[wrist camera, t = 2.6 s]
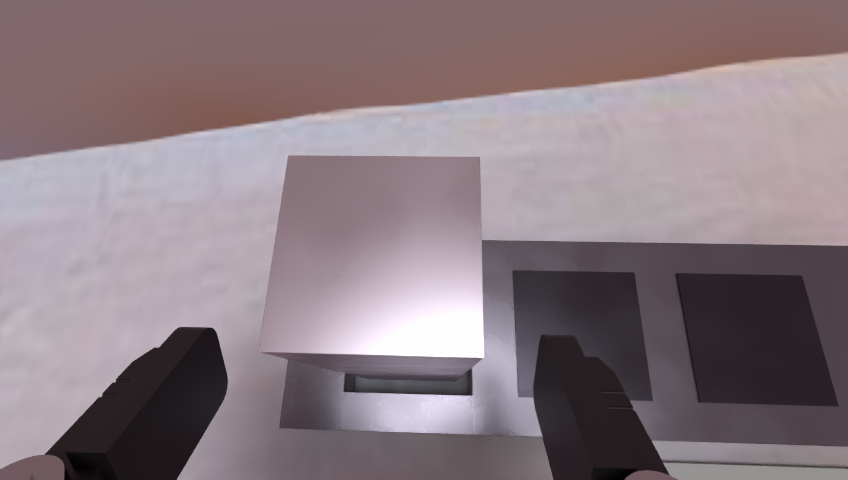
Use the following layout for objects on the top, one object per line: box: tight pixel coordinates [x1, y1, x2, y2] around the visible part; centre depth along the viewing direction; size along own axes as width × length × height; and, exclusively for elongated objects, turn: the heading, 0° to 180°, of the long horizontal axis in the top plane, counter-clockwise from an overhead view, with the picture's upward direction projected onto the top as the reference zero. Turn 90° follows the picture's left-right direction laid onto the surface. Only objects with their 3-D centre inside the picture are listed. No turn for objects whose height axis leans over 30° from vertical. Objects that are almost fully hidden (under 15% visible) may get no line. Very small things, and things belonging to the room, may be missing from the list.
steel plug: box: [258, 156, 484, 382], centre depth 14 cm, size 4×4×13 cm
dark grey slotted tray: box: [279, 240, 848, 446], centre depth 19 cm, size 24×8×3 cm, turn 88°
